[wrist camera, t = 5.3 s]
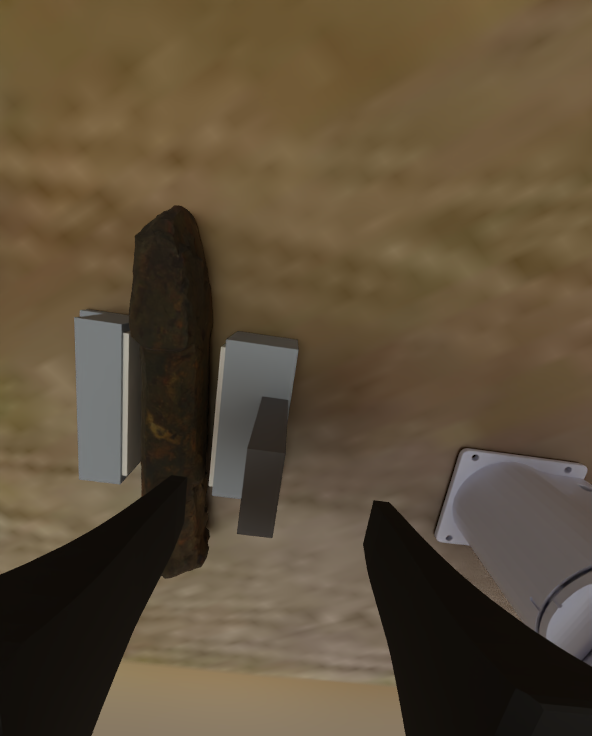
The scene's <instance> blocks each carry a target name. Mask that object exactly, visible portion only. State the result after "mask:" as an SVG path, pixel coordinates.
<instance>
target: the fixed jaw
mask: <svg viewBox="0 0 592 736" xmlns="http://www.w3.org/2000/svg"><path fill="white" fill-rule="evenodd" d="M74 322H75V356H76V390H77V424H78V458H79V479H81V480H89V481H97V482H105V483H113V484H121V483H122V482H123V481H124V480H125V478H126V477H127V476H128V475H129V474H130V473H131V472H132V471H133V469H134V468H135V467H136V466H137V465H138V464H139V463H140V462H141V392H142V376H141V360H140V351H139V347H140V345H139V344H138V343H137V342H136V341H135V340H134V339H133V338H132V337H131V334H130V328H129V315H124V314H117V313H110V312H103V311H96V310H89V309H86V310H80V317H75V318H74Z"/></svg>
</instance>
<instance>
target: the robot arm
mask: <svg viewBox="0 0 592 736" xmlns="http://www.w3.org/2000/svg"><path fill="white" fill-rule="evenodd" d="M473 455H476V456H475V457H474V458H472V456H473ZM565 468H566V469H565ZM586 474H587V467H586V466H584V465H583V464H580V463H575V462H567V461H560V460H552V459H545V458H537V457H530V456H522V455H515V454H507V453H500V452H492V451H485V450H477V449H470V448H465V449H463V450H461V451H460V453H459V456H458V459H457V463H456V466H455V469H454V472H453V476H452V479H451V482H450V485H449V488H448V492H447V495H446V498H445V501H444V505H443V508H442V511H441V514H440V518H439V521H438V524H437V527H436V530H435V537H436V539H437V540H438V541H439V542H444V543H452V544H460V545H469V546H471V548H472V549H473V551H474V552H475V554H476V555H477V556H478V558H479V559H480V561H481V562H482V564H483V565H484V567H485V568H486V570H487V571H488V572H489V574H490V575H491V577H492V578H493V580H494V581H495V583H496V584H497V586H498V587H499V588H500V590H501V591H502V593H503V594H504V596H505V597H506V599H507V600H508V602H509V603H510V604H511V606H512V607H513V609H514V610H515V612H516V613H517V615H518V616H519V617H520V619H521V620H522V622H523V623H522V622H521V621H519V620H518V619H517V618H515V617H514V616H513V615H511V614H510V613H508V612H507V611H506V610H504V609H503V608H502V607H500V606H499V605H498V604H496V603H495V602H494V601H492V600H491V599H490V598H489V597H487V596H486V595H485V594H483V593H482V592H481V591H480V590H479V589H477V588H476V587H475V586H474V585H473V584H471V583H470V582H469V581H468V580H467V579H465V578H464V577H463V576H462V575H461V574H460V573H459V572H457V571H456V570H455V569H454V568H453V567H452V566H451V565H450V564H449V563H448V562H447V561H446V560H445V559H443V558H442V557H441V556H440V555H439V554H438V553H437V552H436V551H435V550H434V549H433V548H432V547H431V546H430V545H429V544H428V543H427V542H426V541H425V540H424V539H423V538H422V537H421V536H420V534H419V533H418V532H417V531H416V530H415V529H414V528H413V527H412V526H411V525H410V524H409V523H408V522H407V521H406V519H405V518H404V517H403V516H402V515H401V514H400V513H399V512H398V511H397V510H396V509H395V508H394V507H393V506H392V505H391V504H390V503H389V502H383V501H375V500H374V501H373V505H372V509H371V514H370V518H369V522H368V526H367V530H366V534H365V538H364V542H363V546H364V553H365V560H366V565H367V571H368V575H369V579H370V583H371V586H372V590H373V593H374V597H375V601H376V604H377V608H378V611H379V615H380V618H381V622H382V625H383V629H384V632H385V636H386V639H387V643H388V647H389V651H390V655H391V660H392V665H393V670H394V675H395V680H396V685H397V690H398V695H399V701H400V706H401V712H402V717H403V723H404V729H405V734H406V736H592V484H590V483H589V482H587V481H585V480H584V478H585V476H586ZM186 490H187V477H183V476H175V475H171V476H169V477H168V478H167V479H165V480H164V481H162V482H161V483H160V484H158V485H157V486H156V487H154V488H153V489H152V490H150V491H149V492H148V493H146V494H145V495H144V496H142V497H141V498H140V499H138V500H137V501H135V502H134V503H133V504H131V505H130V506H128V507H127V508H126V509H124V510H123V511H121V512H120V513H118V514H116V515H115V516H113V517H112V518H110V519H109V520H107V521H106V522H104V523H103V524H101V525H99V526H98V527H96V528H94V529H93V530H91V531H89V532H88V533H86V534H84V535H82V536H80V537H79V538H77V539H75V540H73V541H71V542H70V543H68V544H66V545H64V546H62V547H60V548H58V549H56V550H54V551H51V552H49V553H47V554H45V555H43V556H41V557H39V558H37V559H35V560H33V561H31V562H29V563H26V564H24V565H22V566H20V567H17V568H15V569H13V570H10V571H8V572H6V573H3V574H1V575H0V736H91V735H92V733H93V730H94V727H95V725H96V722H97V720H98V717H99V714H100V712H101V709H102V706H103V704H104V702H105V699H106V697H107V694H108V692H109V689H110V687H111V684H112V682H113V679H114V677H115V674H116V672H117V669H118V667H119V664H120V662H121V659H122V657H123V655H124V652H125V650H126V647H127V645H128V643H129V640H130V638H131V635H132V633H133V631H134V628H135V626H136V624H137V622H138V620H139V618H140V616H141V614H142V612H143V610H144V608H145V606H146V604H147V602H148V600H149V598H150V596H151V594H152V592H153V590H154V588H155V586H156V584H157V582H158V580H159V578H160V577H161V575H162V573H163V571H164V569H165V567H166V565H167V563H168V561H169V559H170V557H171V555H172V553H173V551H174V549H175V546H176V543H177V541H178V538H179V536H180V533H181V530H182V527H183V525H184V519H185V505H186ZM448 535H449V536H448ZM447 536H448V537H447Z"/></svg>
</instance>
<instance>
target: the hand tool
mask: <svg viewBox="0 0 592 736" xmlns="http://www.w3.org/2000/svg"><path fill="white" fill-rule="evenodd" d="M212 325H213V315H212V301H211V288H210V284H209V280H208V274H207V267H206V263H205V258H204V252H203V248H202V244H201V240H200V237H199V232H198V228H197V224H196V222H195V219H194V217H193V215H192V214H191V213H190V212H189V211H188V210H187V209H186V208H184V207H182V206H173V207H172V208H171V209H169V210H168V211H164V212H163V213H161V214H159V215H157V217H156V218H155V219H154V220H152V221H151V222H150V223H148V224H147V225H146V226H144V228H143V229H142V230H141V232H139V233H138V234H137V235H135V252H134V264H133V284H132V293H131V299H130V307H129V328H130V334H131V337H132V338H133V339H134V340H135V341H136V342H137V343H138V344H139V345H140V347H139V351H140V360H141V376H142V392H141V466H142V469H141V480H142V496H144V495H145V494H146V493H148V492H149V491H150V490H152V489H153V488H154V487H156V486H157V485H158V484H160V483H161V482H162V481H164V480H165V479H167V478H168V477H169V476H171V475H175V476H183V477H187V490H186V505H185V519H184V525H183V527H182V530H181V533H180V536H179V538H178V541H177V543H176V546H175V549H174V551H173V553H172V555H171V557H170V559H169V561H168V563H167V565H166V567H165V569H164V571H163V573H162V575H161V576H163V577H164V578H172V577H175V576H177V575H179V574H182V573H184V572H187V571H191V570H193V569H196V568H199V567H202V565H203V563H204V562H205V560H206V558H207V554H208V550H209V546H208V540H209V537H210V535H209V530H208V529H207V528H206V527H205V526H206V523H207V520H208V513H207V508H206V507H205V501H206V492H207V472H206V471H205V466H206V450H207V441H208V435H207V400H208V363H209V340H210V334H211V329H212Z"/></svg>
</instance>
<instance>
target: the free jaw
mask: <svg viewBox="0 0 592 736" xmlns="http://www.w3.org/2000/svg"><path fill="white" fill-rule="evenodd" d="M297 356H298V340H295V339H289V338H282V337H275V336H268V335H261V334H254V333H247V332H240V331H237V332H236V333H234V334H233V335H232V336H230V337H229V338H228V339H226V343H225V344H224V345H223V346H222V347H221V353H220V364H219V375H218V386H217V398H216V409H215V420H214V431H213V442H212V454H211V465H210V476H209V486H212V487H213V489H212V496H220V497H228V498H236V499H241V504H240V512H239V521H238V529H237V534H242V535H250V536H259V537H268V538H273V531H274V525H275V518H276V512H277V505H278V499H279V492H280V486H281V480H282V473H283V467H284V460H285V454H286V434H287V421H288V415H289V408H290V402H291V395H292V389H293V382H294V376H295V369H296V362H297Z"/></svg>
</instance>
